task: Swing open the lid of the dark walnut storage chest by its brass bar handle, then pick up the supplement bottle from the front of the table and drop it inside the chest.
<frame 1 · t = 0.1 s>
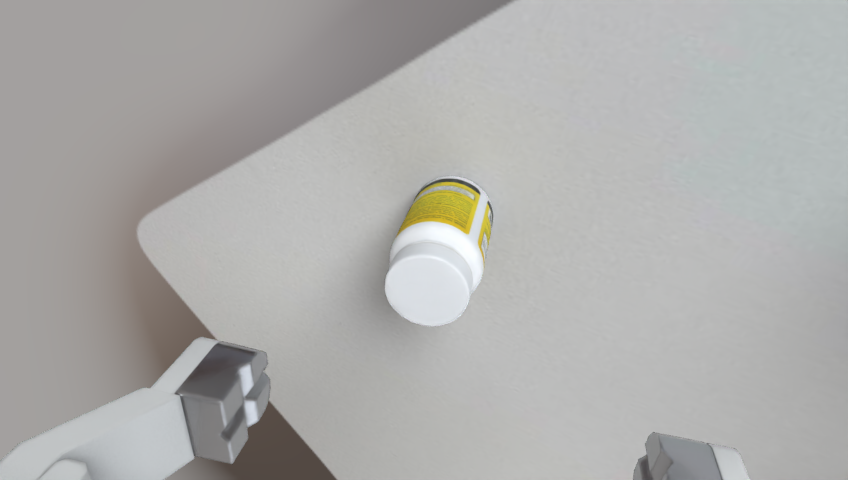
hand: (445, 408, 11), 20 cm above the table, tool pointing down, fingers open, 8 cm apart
supplement bottle: (454, 210, 31), on the table
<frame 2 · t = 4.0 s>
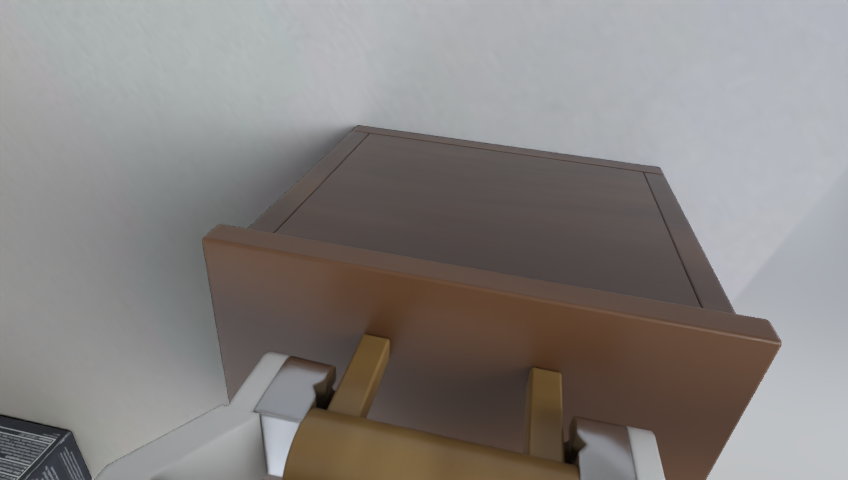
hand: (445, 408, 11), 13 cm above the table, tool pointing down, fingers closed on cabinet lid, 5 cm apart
cabinet: (478, 296, 25), on the table
small box: (28, 441, 41), on the table
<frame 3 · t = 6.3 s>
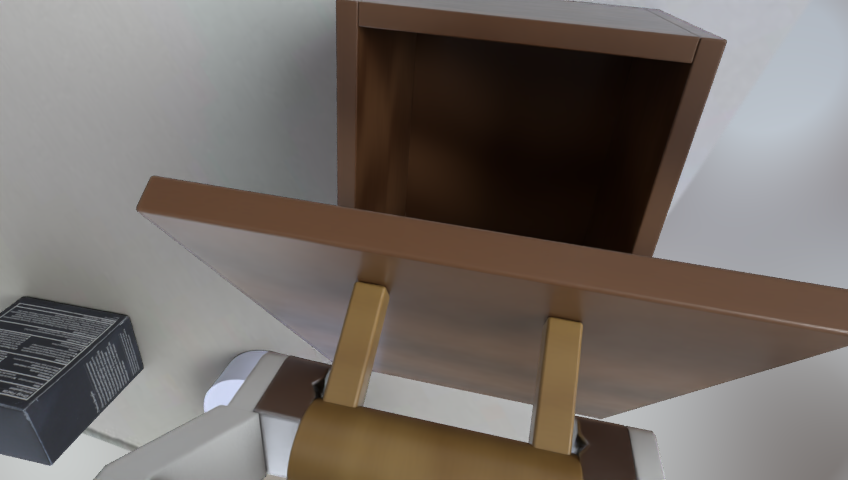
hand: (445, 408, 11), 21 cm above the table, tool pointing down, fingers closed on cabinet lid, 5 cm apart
wedge on round base: (297, 398, 44), on the table
cabinet: (505, 145, 30), on the table
small box: (87, 332, 46), on the table
cabinet lid: (453, 413, 16), point 18 cm above the table, hinge at 38.0°, touching gripper
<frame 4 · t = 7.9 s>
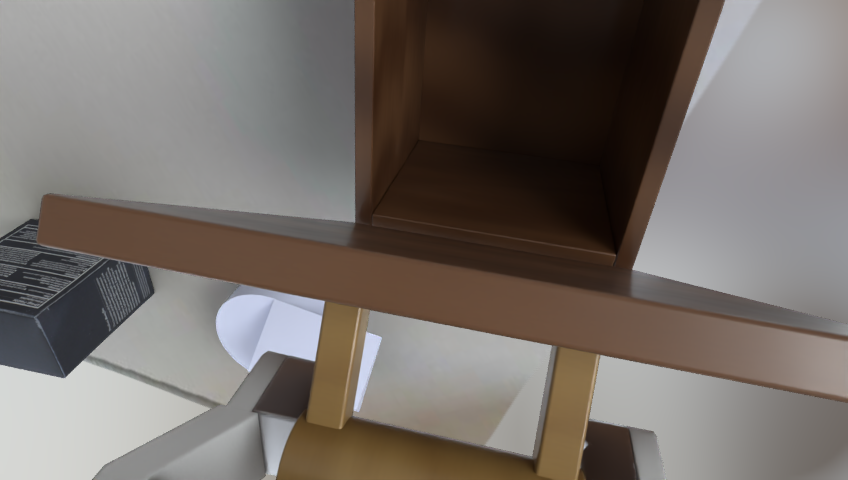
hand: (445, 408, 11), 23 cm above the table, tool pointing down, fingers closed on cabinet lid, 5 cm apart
wedge on round base: (310, 320, 43), on the table
cabinet: (527, 27, 28), on the table
small box: (96, 256, 45), on the table
cabinet lid: (467, 335, 15), point 19 cm above the table, hinge at 59.4°, touching gripper
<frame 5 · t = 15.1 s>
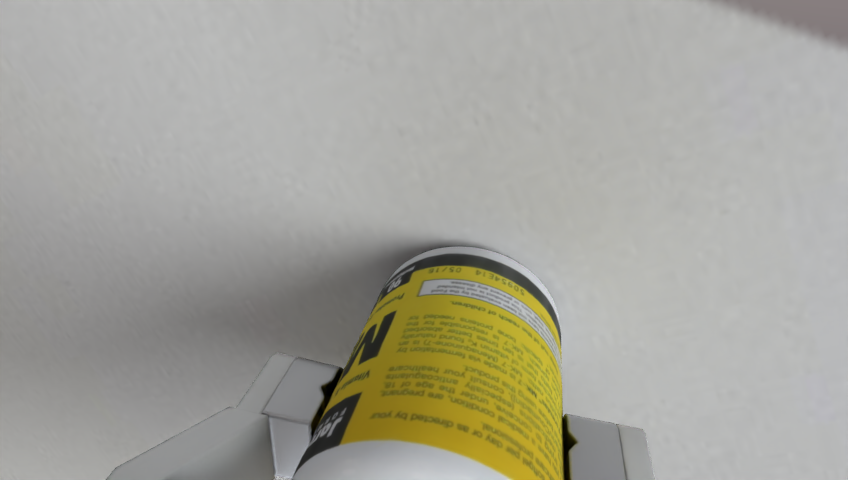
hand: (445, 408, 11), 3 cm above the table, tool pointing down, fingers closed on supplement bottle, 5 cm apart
supplement bottle: (468, 314, 14), on the table, touching gripper
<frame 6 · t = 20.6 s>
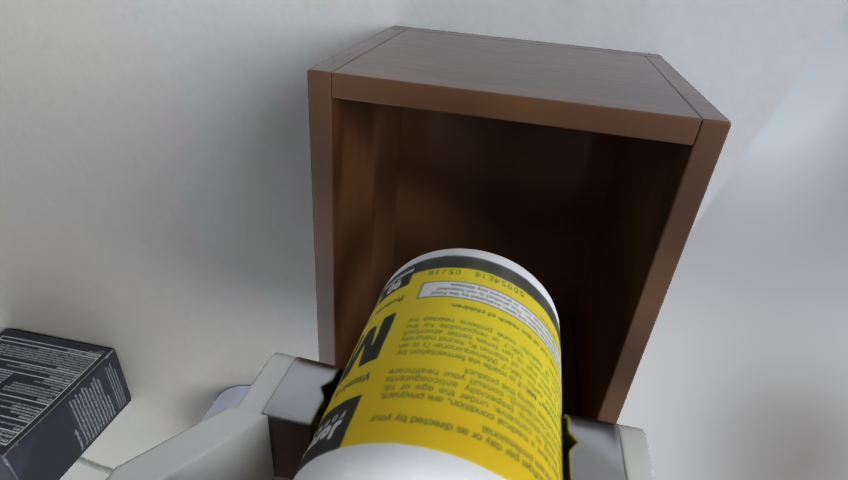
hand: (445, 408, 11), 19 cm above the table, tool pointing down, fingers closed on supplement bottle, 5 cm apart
supplement bottle: (467, 316, 14), point 15 cm above the table, touching gripper
wedge on round base: (288, 432, 43), on the table
cabinet: (498, 189, 28), on the table
small box: (72, 363, 45), on the table
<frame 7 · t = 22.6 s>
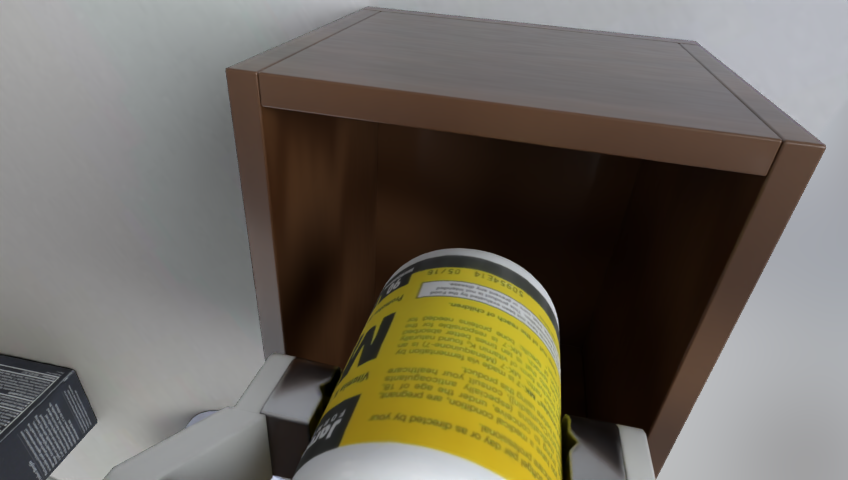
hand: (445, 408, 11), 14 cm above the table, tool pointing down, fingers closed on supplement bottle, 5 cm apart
supplement bottle: (467, 316, 14), point 11 cm above the table, touching gripper
cabinet: (495, 202, 24), on the table
small box: (32, 383, 41), on the table
when the fingers open (14 cm above the table, at t = 22.7 s): supplement bottle drops 10 cm, resting on cabinet.
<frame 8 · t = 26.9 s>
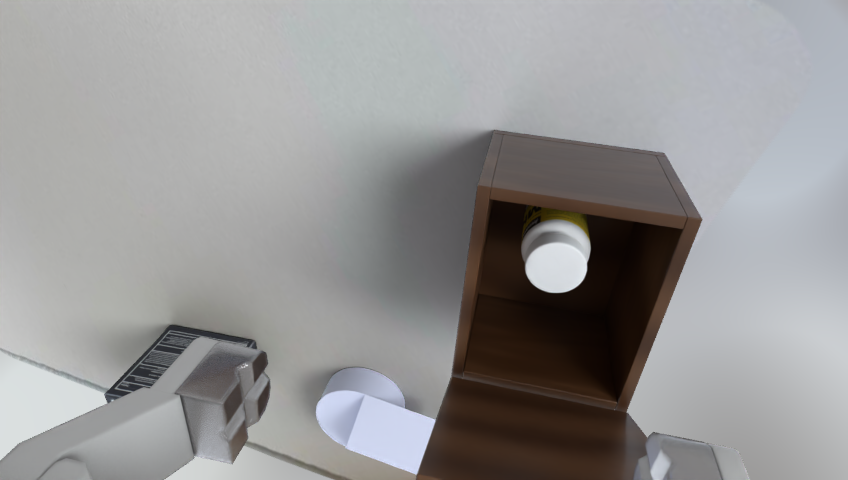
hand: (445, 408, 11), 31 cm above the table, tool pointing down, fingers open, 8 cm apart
supplement bottle: (554, 211, 41), point 1 cm above the table, touching cabinet
wedge on round base: (383, 403, 57), on the table
cabinet: (556, 231, 42), on the table
small box: (217, 351, 59), on the table
cabinet lid: (541, 479, 29), point 19 cm above the table, hinge at 59.8°
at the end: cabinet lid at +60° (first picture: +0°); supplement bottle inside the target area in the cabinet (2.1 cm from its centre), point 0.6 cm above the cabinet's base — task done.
